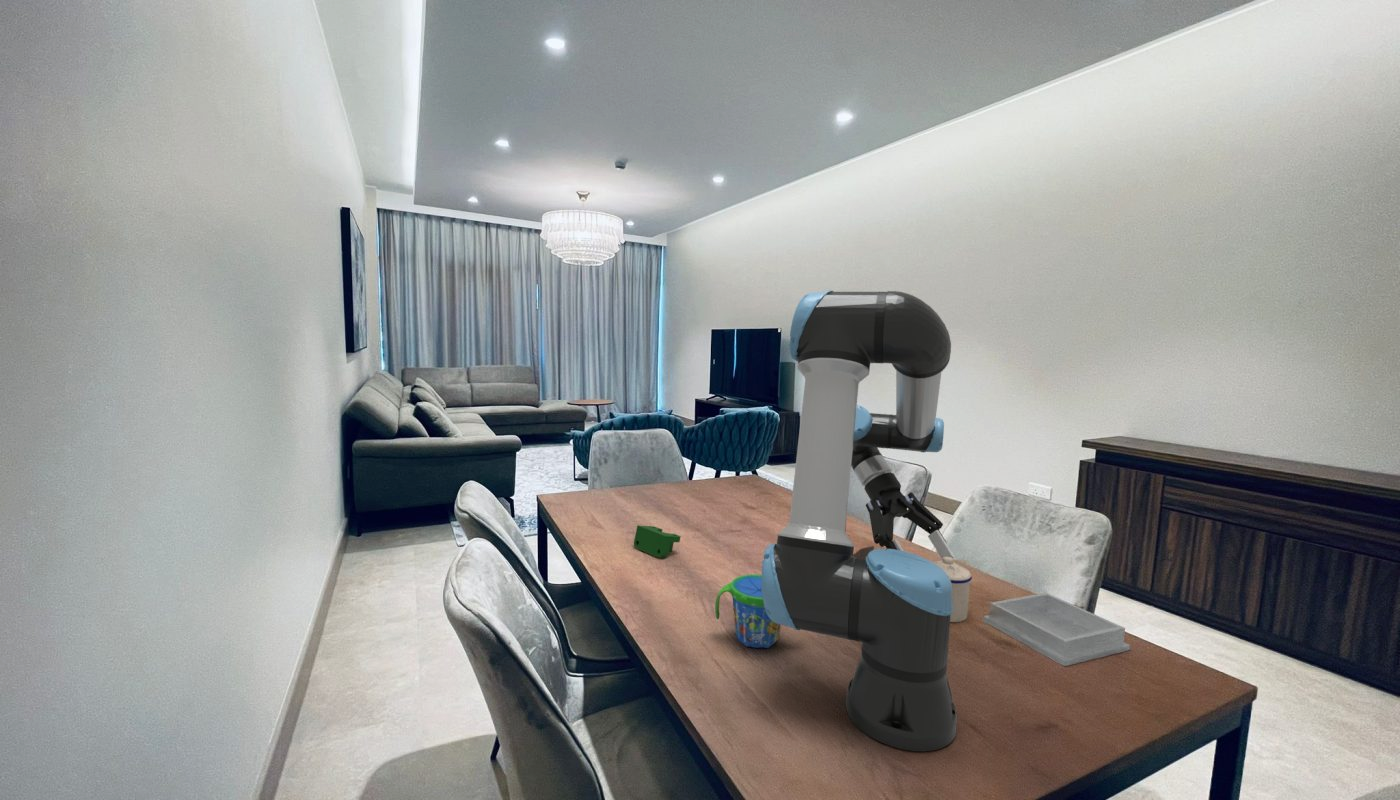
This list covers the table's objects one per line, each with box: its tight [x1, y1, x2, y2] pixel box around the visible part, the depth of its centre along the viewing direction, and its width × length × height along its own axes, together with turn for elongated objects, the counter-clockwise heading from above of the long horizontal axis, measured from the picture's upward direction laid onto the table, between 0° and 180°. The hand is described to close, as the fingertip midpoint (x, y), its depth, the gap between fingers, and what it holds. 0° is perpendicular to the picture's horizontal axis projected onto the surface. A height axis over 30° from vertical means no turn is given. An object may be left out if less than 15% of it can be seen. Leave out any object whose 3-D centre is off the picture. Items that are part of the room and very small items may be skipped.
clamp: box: [633, 524, 681, 559], centre depth 146 cm, size 12×6×9 cm, turn 39°
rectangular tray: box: [982, 592, 1131, 667], centre depth 108 cm, size 17×17×4 cm
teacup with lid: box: [931, 557, 973, 623], centre depth 117 cm, size 12×9×12 cm
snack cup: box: [714, 574, 782, 649], centre depth 103 cm, size 16×10×10 cm
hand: (929, 565), depth 120 cm, fingers open, 13 cm apart
